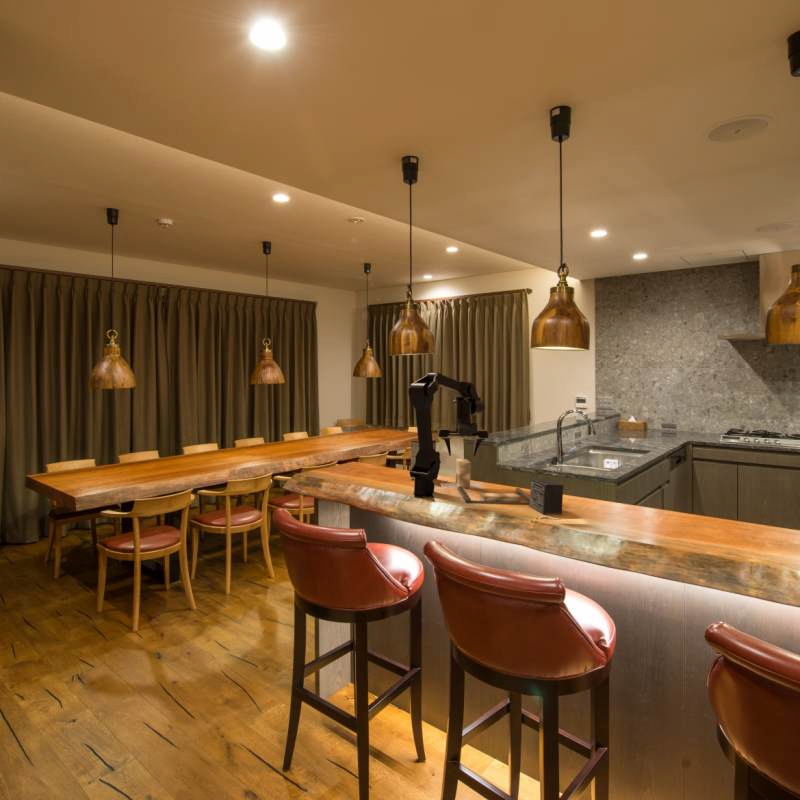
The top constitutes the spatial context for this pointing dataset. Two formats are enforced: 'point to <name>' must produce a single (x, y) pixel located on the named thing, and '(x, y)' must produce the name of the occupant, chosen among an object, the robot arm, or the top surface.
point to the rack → (518, 490)
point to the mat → (453, 485)
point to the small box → (546, 496)
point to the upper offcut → (499, 497)
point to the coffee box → (415, 449)
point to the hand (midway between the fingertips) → (462, 456)
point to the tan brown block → (463, 473)
